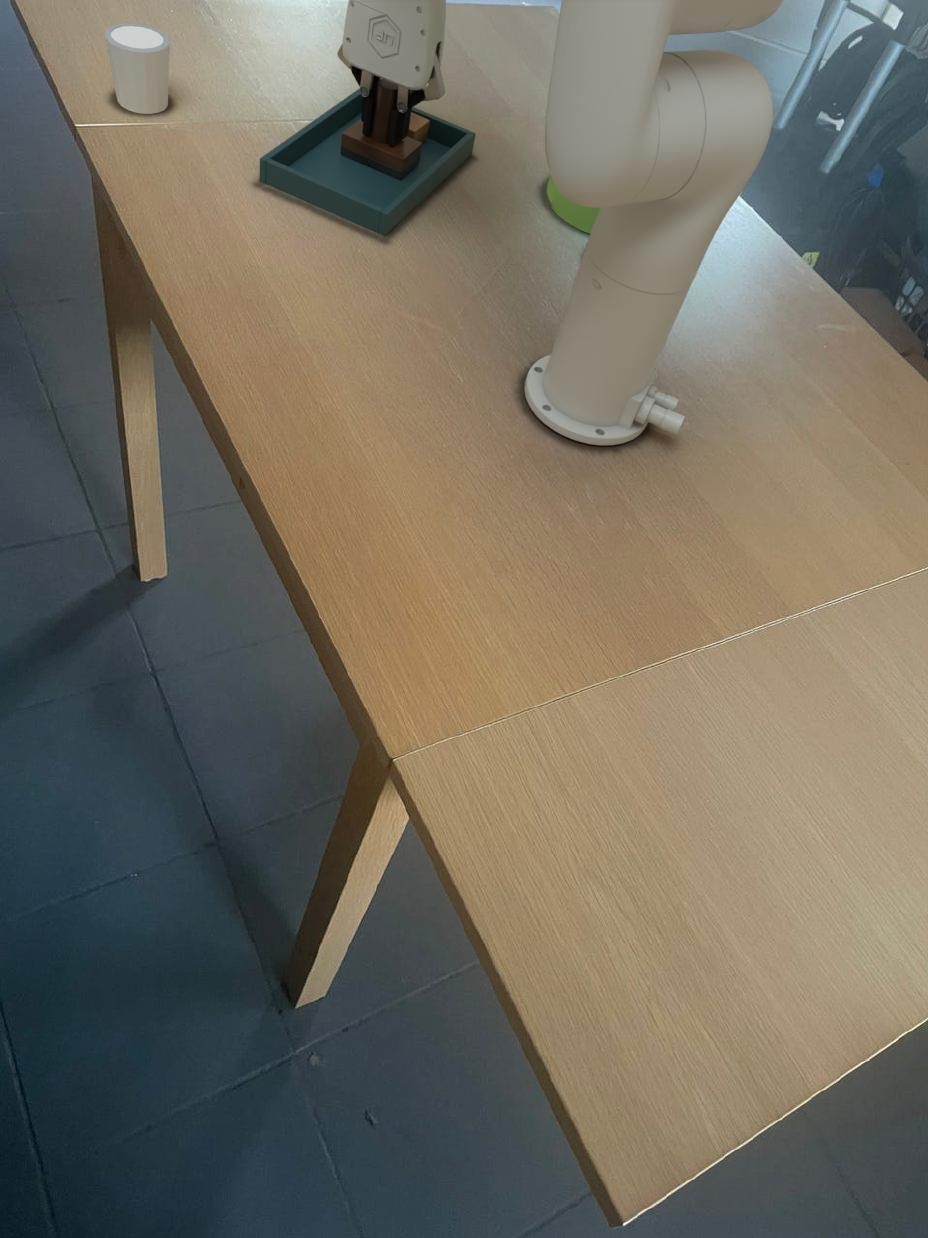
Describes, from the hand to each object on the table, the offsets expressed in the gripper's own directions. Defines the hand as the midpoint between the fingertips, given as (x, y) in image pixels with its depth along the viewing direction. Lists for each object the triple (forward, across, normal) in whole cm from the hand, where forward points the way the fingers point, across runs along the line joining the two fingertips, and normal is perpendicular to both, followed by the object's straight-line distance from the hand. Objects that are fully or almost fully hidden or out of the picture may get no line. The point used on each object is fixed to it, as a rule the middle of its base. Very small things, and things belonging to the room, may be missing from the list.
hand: (383, 134), depth 106 cm
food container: (+4, +28, +7) cm, 29 cm away
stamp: (+3, 0, 0) cm, 3 cm away
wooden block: (+3, 0, +6) cm, 7 cm away
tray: (+3, 0, -2) cm, 4 cm away
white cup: (+4, -27, -8) cm, 29 cm away
